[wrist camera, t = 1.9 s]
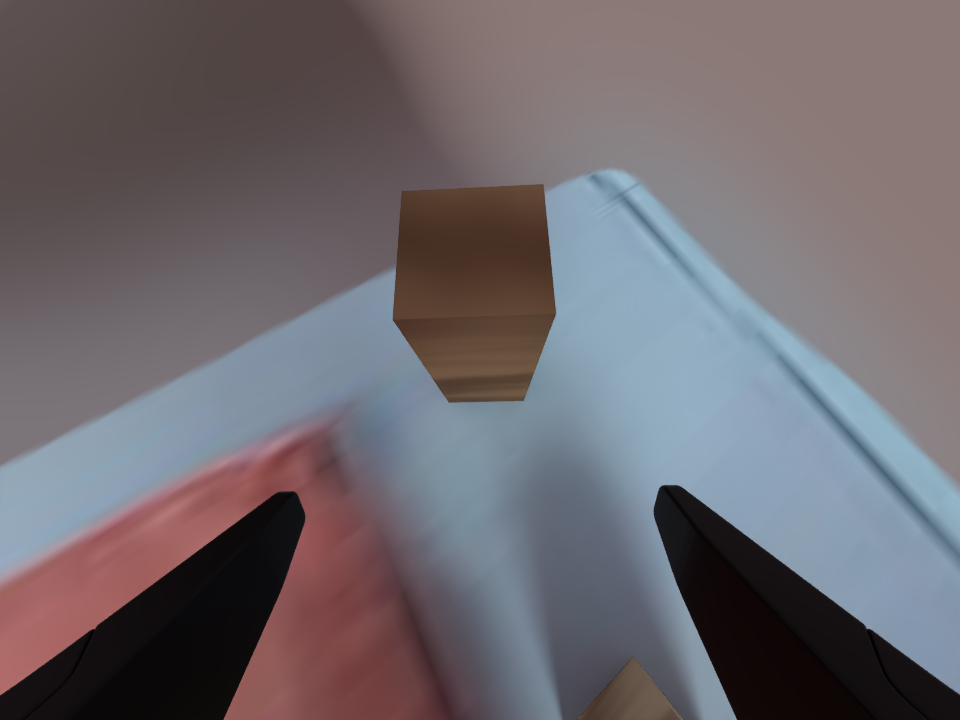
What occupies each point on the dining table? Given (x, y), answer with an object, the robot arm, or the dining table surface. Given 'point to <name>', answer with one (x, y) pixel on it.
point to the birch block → (631, 698)
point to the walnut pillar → (475, 287)
